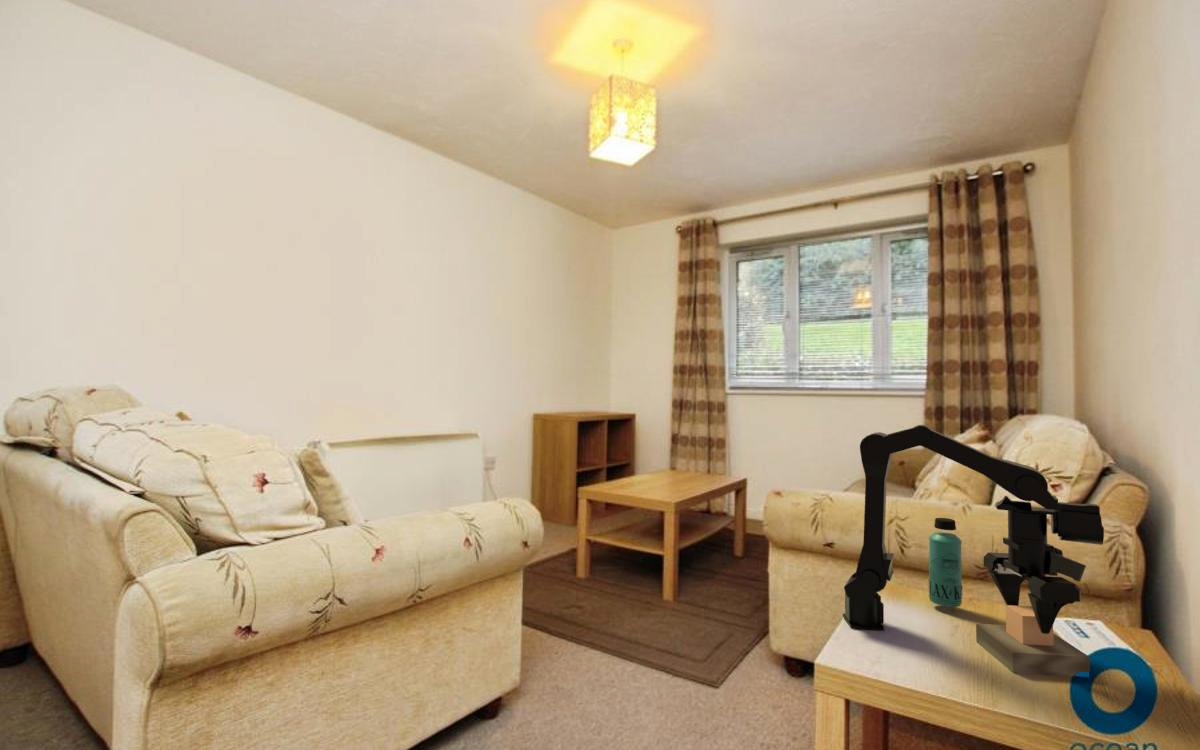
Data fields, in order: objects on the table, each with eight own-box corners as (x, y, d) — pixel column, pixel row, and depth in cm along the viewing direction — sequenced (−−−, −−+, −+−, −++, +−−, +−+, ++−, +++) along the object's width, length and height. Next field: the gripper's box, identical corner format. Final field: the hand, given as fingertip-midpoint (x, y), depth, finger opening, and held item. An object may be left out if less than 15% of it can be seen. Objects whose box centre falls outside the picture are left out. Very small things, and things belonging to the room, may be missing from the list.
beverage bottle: (921, 603, 128) (920, 515, 129) (948, 602, 129) (947, 515, 130) (942, 615, 122) (941, 522, 122) (970, 613, 123) (969, 521, 123)
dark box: (1013, 675, 97) (1012, 652, 97) (976, 644, 109) (976, 623, 109) (1090, 680, 95) (1089, 656, 96) (1044, 648, 107) (1043, 627, 107)
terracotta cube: (1022, 644, 100) (1022, 615, 100) (1006, 632, 105) (1005, 605, 105) (1053, 645, 100) (1052, 617, 100) (1035, 633, 105) (1034, 606, 105)
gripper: (1116, 552, 92) (1117, 648, 92) (1042, 525, 111) (1043, 605, 111) (1041, 549, 94) (1043, 644, 94) (981, 523, 112) (982, 602, 112)
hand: (1028, 622), depth 102 cm, fingers open, 9 cm apart
